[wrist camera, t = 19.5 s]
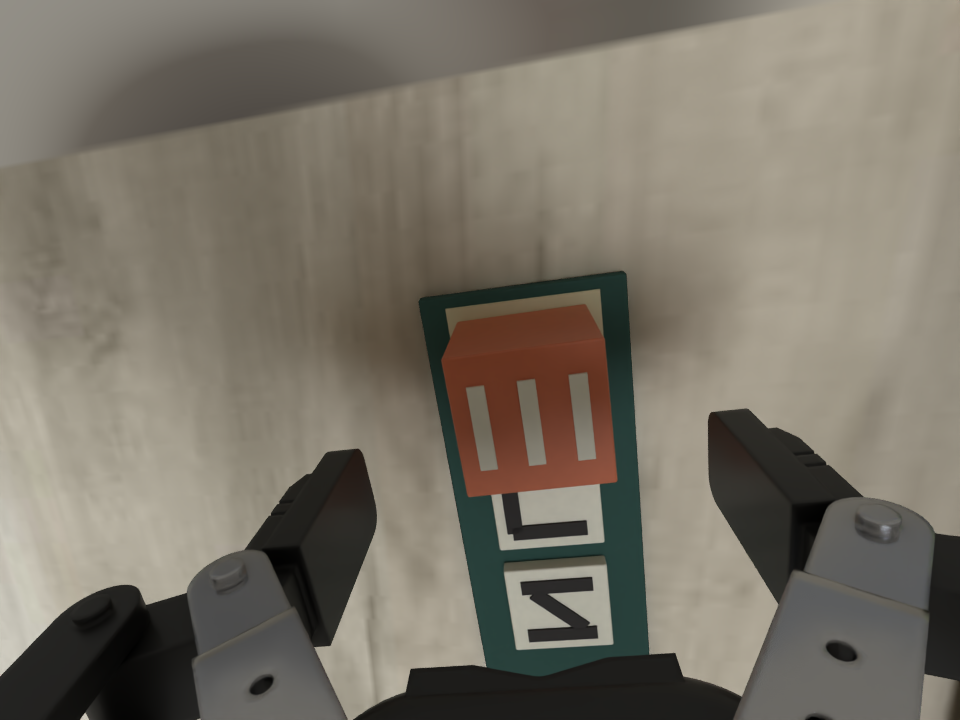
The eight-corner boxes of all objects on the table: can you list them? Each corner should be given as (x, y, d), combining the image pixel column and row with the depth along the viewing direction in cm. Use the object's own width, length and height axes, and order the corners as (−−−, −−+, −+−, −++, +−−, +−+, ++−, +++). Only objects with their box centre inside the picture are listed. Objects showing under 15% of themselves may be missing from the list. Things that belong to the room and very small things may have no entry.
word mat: (420, 297, 19) (414, 305, 17) (623, 270, 18) (630, 276, 17) (491, 682, 24) (490, 707, 23) (648, 675, 23) (655, 700, 22)
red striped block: (456, 321, 18) (440, 360, 14) (586, 303, 18) (605, 338, 14) (477, 436, 19) (467, 499, 16) (598, 422, 19) (618, 484, 15)
